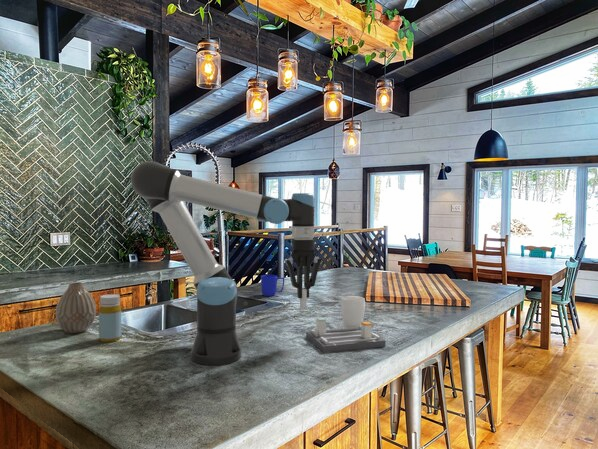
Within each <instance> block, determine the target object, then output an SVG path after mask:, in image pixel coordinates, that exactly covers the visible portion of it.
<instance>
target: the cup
mask: <svg viewBox="0 0 598 449" xmlns="http://www.w3.org/2000/svg"><path fill="white" fill-rule="evenodd" d="M340 300H341V301H340V310H341V311H340V312H341V318H342V319H341V321H342V328H352V327H359V326H361V322H364V315H365V309H366V299H365V297H362V296H360V295H343V296H341V298H340Z"/></svg>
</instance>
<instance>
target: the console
mask: <svg viewBox="0 0 598 449" xmlns="http://www.w3.org/2000/svg"><path fill="white" fill-rule="evenodd" d="M305 334H306V335H305V336H306V339H308V340H309V341H310V342H311V343H312V344H313V345H315V346H316V348H318V349H319V350H320V351H321V352H322V353H331V352H344V351H354V350H363V349H373V348H383V347H386V339H383V338H382V337H381V336H380V335H378V334H376V333H374V332H373V331H372V337H371V338H368V339H364V338H363V337H361V326H359V327H352V328H343V327H341V328H331V329H326V334H318V333H317V332H316V330H315V329H311V330H308V331H306V333H305Z"/></svg>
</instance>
